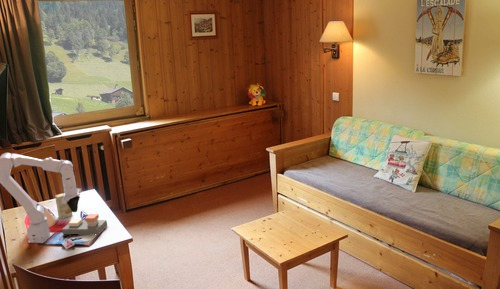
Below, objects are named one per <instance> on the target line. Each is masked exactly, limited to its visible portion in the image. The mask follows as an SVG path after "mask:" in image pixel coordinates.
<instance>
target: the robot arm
mask: <svg viewBox="0 0 500 289" xmlns="http://www.w3.org/2000/svg"><path fill="white" fill-rule="evenodd" d="M22 165H24V166H33V167H39V168H41V169H42V170H43V171H48V172H53V173H60V175H61V182H62V186H63V192H64V193H65V195H64V197H63V199H62V200H61V201H62V204H66V203H67V204H68V205H69V207H70V209H71V211H72V213H77V212H78V209H79V208H78V206H79V201H80V198H81V197H80V195H81V194H80V193H82V188H77V183H76V182H77V181H76V176H75V173H74V165H73V162H72V161H71V160H68V159H60V160H59V159H54V158H53V157H51V156H49V157H46V158H44V159H41V158H36V157H31V156H26V155H23V154H19V153H11V152H4V153H2V154H1V155H0V184H1V186H2V187H3V188H5V190H6V191H7V192H8V193H9V194H10V195H11V196H12V197H13V198H14V199H15V201H17V202H18V203H19V204H20V206H22V208H24V211H25V213H26V215H27V216H28V219H29V221H30V225H29V226H28V228H27V229H26V230H27V231H26V233H27V236H28V241H27V243H29V244H30V243H31V244H34V243H35V244H36V243H37V244H42V243H45V242H46V241H48V240H49V239H50V238H51V237H52V236H53V235H54V234H55V232H51V230H50V226H49V222H48V217H47V216H46V215H45V213H46V207H45V206H44V205H43V204H41V203H38V201H36V200H34V199H32V197H31V196H30V195H29V194H28V193H27V192H26V191H25V190H24V189H23V187H22V186H20V184H19V183H18V182H17V181H16V180H15V179H14V178H13V177H12V176H11V171H12V169H13V166H14V168H17V167H20V166H22Z"/></svg>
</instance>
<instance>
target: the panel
mask: <svg viewBox="0 0 500 289" xmlns="http://www.w3.org/2000/svg"><path fill="white" fill-rule="evenodd" d="M82 221H83V222H82V223H81V224H80V225H79V226H78V227H71V226H69V223H68V224H66V225H65V226H64V227H63V228H62V229H61V232H62V235H63V234H78V235H77V236H98V235H99V234H100V233H102V232H103V231H104V230H105V229H106V228H107V226H108V222H107V219H98V224H97V225H96V226H95V227H88V224H87V222H85V219H82ZM95 234H96V235H95Z"/></svg>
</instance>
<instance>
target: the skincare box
mask: <svg viewBox="0 0 500 289" xmlns="http://www.w3.org/2000/svg"><path fill="white" fill-rule="evenodd" d="M64 195H65V193H59V194H55V196H54V197H55V204H56V210H57V216H58V217H59V218H60V219H64V218H67V217H71V216H73V212H72V211H71V209H70V207H69V205H68V204H67V203H66V204H62V201H61V200H62V199H63V197H64Z"/></svg>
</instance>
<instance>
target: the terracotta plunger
mask: <svg viewBox="0 0 500 289" xmlns="http://www.w3.org/2000/svg"><path fill="white" fill-rule="evenodd" d="M99 218H100V216H99V214H98V213H89V214H87V216H86V217H84V220H85V222H87V224H88V227H95V226H96V225H97V224H98V220H99Z"/></svg>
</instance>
